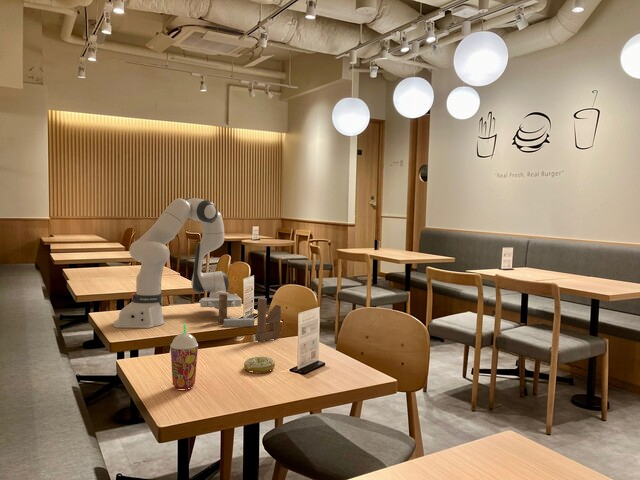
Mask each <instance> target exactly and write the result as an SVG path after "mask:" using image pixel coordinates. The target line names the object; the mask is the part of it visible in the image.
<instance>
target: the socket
mask: <svg viewBox="0 0 640 480" xmlns="http://www.w3.org/2000/svg"><path fill="white" fill-rule="evenodd" d="M223 326H224V328H233V327H255V318H254V317H251V318H249V317H247V316H246V315H243V316H242V318H234V317H233V316H230V315H229V317H228V318H227V319H224V324H223Z"/></svg>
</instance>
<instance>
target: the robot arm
mask: <svg viewBox="0 0 640 480" xmlns="http://www.w3.org/2000/svg"><path fill="white" fill-rule="evenodd" d="M188 219H189V220H192V221H196V222H200V224H201V226H202V227H201V230H202V232H201V233H202V235H201V236H202V237H201V239H200V242H198V243H196V247H195V254H194V263H193V273H192V277H191V282H190V283H191V288H192V290H193V291H195V292H196V293H198V294H201V293H205V292H209V297H202V298H200V300H199V301H198V303H199V304H200V305H199V307H200V308H214V309H217V310H219V293H227V308H235V307H238V308H239V307H240V308H241V307H242V303H243V302H242V298H241V297H240V296H239V295H238V294H237V293H231V292H228V291H229V287H230V283H229V279H228V276H227V273H226V272H225V271H223V270H219V271H210V272H203V271H202V268H203V262H204V261H203V260H204V257H205V256H206V255H207V254H209V253H211V252H213V251H215V250H217V249H219V248H220V247H222V246H223V244H224V242H225V225H224V221H223V215H222V213H221V212H220V211H219V210H218V209H217V206H216V205H215V203H214V202H213V201H210V200H208V199H202V198H199V197H198V198H197V197H188V198H185V199H184V198H180V197H179V198H175V199H174V200H173V201H172V202H171V203H170V204H169V205H168V206H167V207H166V208H165V210H164V211H163V212H162V213H161V215H159V217H158V219H157V220H156V221H155V222H154V224H153V225H152V226H151V227H150V228H149V229H148V230H147V231H146V232H144V234H143V235H142V236H141V237H139V238H138V239H137V240H135V241H132V243H131V244H130V246H129V248H128V249H129V250H128V251H129V256H131V258H132V259H133V260H135V261H136V262H138V263H141V265H140V270H139V273H138V274H137V275H136V279H135V280H136V281H135V282H136V288H135V290H136V292H135V293H134V292H132V294H131V295H130V296H131V302H130V303H129V304H126V306H124V307H123V308H122V309H121V310H120V311H119V313H118V318H117V319H116V320H114V321H113V323H112V326H113V327H114V328H120V329H121V328H123V329H125V328H127V329H133V328H134V329H150V328H153V327H157V326H162V325H164V324H165V319H164V315H163V310H162V309H163V308H162V304H163V293H162V277H163V273H164V268H165V265H166V263H167V262H168V261H169V259H170V254H171V253H170V249H169V248H168V246H167V244H168V243H169V242H171V241H172V240H174V239H175V237H177V235H178V233H179V232H180V231H181V229H182V227H183V226H184V225H185V224H186V222H187V220H188Z"/></svg>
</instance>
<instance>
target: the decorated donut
mask: <svg viewBox="0 0 640 480" xmlns="http://www.w3.org/2000/svg"><path fill="white" fill-rule="evenodd" d="M243 367H244V368H245V369H246V370H248V371H253V372H266V373H268V372H267V371H270V370H272V371H273V370H274V369H275V367H276V362H275V360H274V359H273V358H271V357H268V356H254V357H251V358H248V359H247V360H245V361H244V362H243ZM244 368H243V369H244ZM245 369H244V370H245ZM270 372H271V371H270Z"/></svg>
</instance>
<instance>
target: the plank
mask: <svg viewBox="0 0 640 480" xmlns="http://www.w3.org/2000/svg"><path fill="white" fill-rule="evenodd" d="M227 293H228V292H227ZM227 293H219V309H218V324H219V325H224V319H228V307H227Z"/></svg>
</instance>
